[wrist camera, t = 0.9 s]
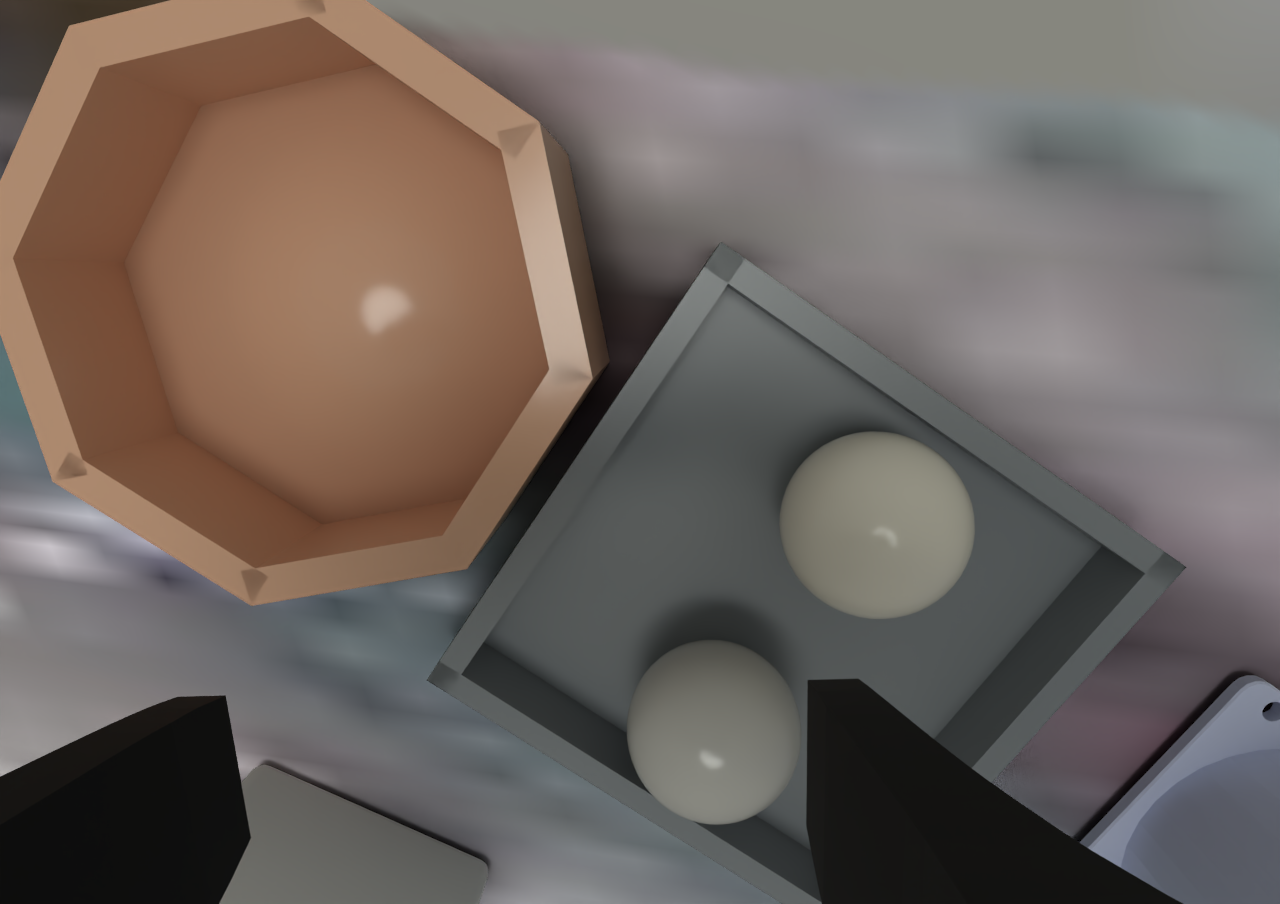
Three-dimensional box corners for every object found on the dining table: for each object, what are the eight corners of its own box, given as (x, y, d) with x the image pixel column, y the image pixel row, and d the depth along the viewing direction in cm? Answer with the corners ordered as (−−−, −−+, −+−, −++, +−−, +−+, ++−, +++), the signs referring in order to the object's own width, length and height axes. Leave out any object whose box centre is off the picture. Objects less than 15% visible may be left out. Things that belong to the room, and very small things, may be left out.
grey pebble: (820, 668, 20) (855, 763, 16) (729, 782, 20) (740, 899, 16) (690, 582, 19) (692, 657, 15) (602, 701, 20) (583, 801, 16)
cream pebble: (973, 479, 18) (1052, 530, 14) (869, 607, 19) (917, 690, 15) (837, 383, 18) (879, 410, 14) (736, 519, 19) (750, 580, 15)
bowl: (690, 240, 18) (692, 228, 14) (438, 620, 20) (386, 690, 17) (257, -62, 17) (148, -152, 14) (47, 372, 19) (-94, 390, 16)
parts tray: (1129, 535, 19) (1186, 567, 17) (829, 877, 21) (845, 943, 19) (716, 247, 18) (720, 241, 16) (453, 638, 20) (426, 679, 18)
